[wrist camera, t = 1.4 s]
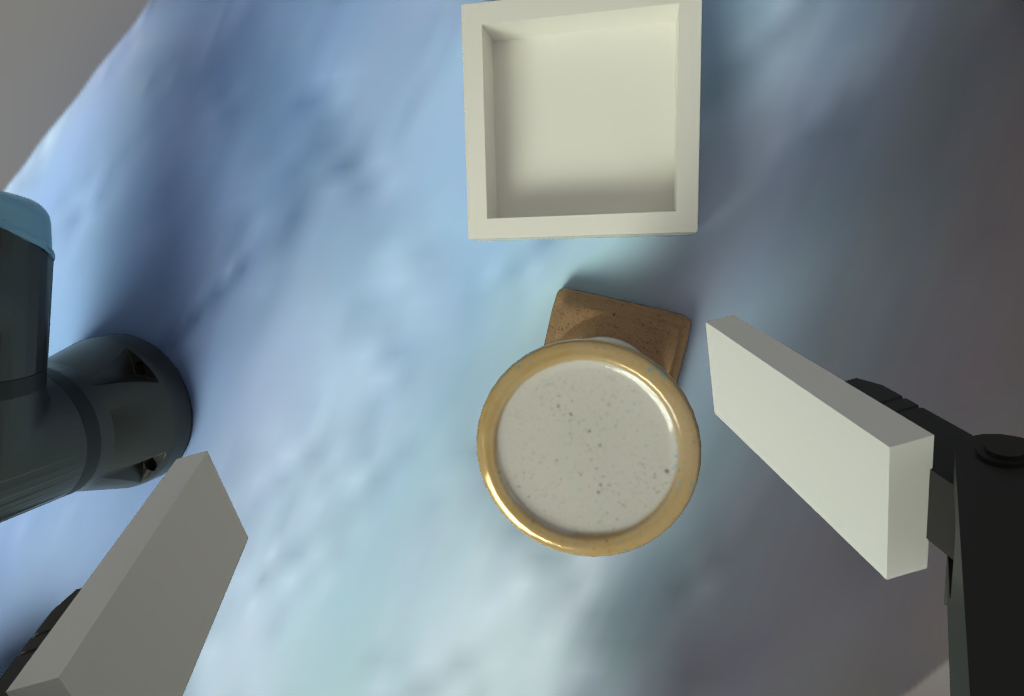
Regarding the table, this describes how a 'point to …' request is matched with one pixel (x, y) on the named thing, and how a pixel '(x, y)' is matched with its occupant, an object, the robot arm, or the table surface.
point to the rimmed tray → (581, 118)
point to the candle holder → (593, 429)
